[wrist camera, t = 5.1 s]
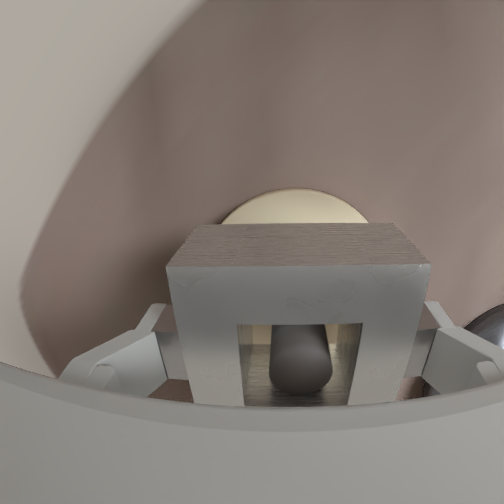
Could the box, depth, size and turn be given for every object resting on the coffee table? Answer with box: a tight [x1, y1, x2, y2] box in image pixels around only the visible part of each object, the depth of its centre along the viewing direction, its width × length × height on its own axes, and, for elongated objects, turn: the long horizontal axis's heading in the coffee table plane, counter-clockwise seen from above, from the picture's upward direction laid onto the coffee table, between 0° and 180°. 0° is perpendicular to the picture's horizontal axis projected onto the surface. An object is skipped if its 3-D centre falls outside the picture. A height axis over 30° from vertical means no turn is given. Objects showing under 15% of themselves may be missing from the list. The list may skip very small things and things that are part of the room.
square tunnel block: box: [166, 223, 432, 408], centre depth 9 cm, size 6×6×3 cm
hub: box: [423, 304, 504, 397], centre depth 13 cm, size 10×10×4 cm
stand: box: [221, 188, 368, 395], centre depth 11 cm, size 8×8×6 cm
